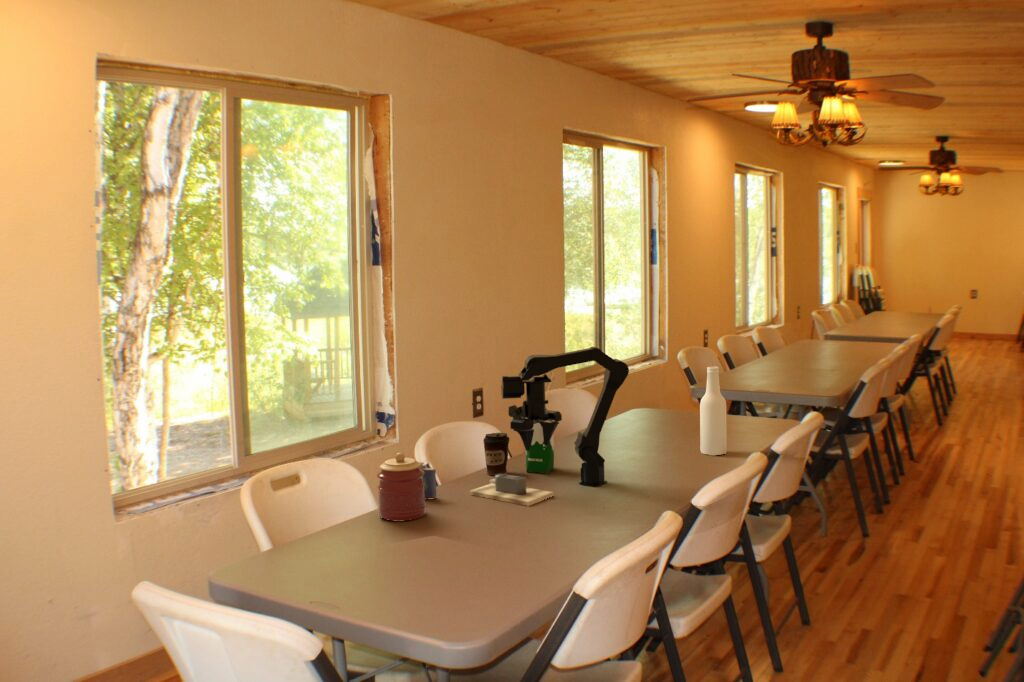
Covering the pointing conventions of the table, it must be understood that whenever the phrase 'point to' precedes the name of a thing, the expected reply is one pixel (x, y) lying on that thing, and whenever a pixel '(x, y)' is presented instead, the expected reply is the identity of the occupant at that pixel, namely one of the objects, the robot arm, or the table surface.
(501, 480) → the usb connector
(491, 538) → the table surface
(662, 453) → the table surface
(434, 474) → the flask
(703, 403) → the alcohol
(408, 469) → the canister
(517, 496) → the birch board
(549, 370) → the robot arm
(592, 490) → the table surface
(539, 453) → the milk carton
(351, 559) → the table surface
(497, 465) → the coffee cup
